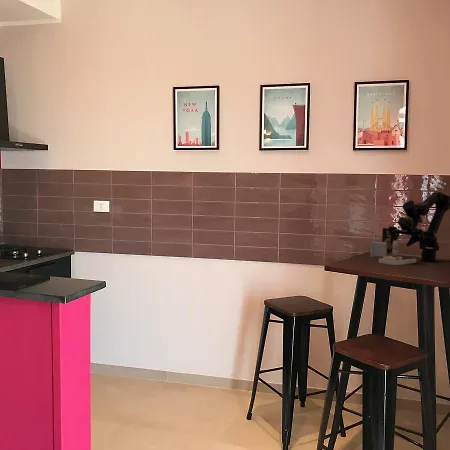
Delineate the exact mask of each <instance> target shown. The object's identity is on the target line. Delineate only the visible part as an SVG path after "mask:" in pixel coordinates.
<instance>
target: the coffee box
mask: <svg viewBox="0 0 450 450" xmlns="http://www.w3.org/2000/svg"><path fill="white" fill-rule="evenodd" d="M388 228H389V227H382V228H381V229H382V230H381V239H380V242H384V243H387V251H386V256H392V249H393V244H392V245H391V244H390V241H391V236H390V234H389V232H388V230H387V229H388ZM397 229H398V230H400V229H399V228H397ZM396 241H399V242H400V235H399V236H398V239H397V240H396Z"/></svg>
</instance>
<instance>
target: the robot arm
mask: <svg viewBox="0 0 450 450" xmlns="http://www.w3.org/2000/svg"><path fill="white" fill-rule="evenodd" d="M433 206H435V210H434V212H433V213H434V214H433V215H432V217H431V218H432V219H431V220H430V223H429V226H428V227H427V230H426V231H424V230H423V229H421V228H417V227H418V225H419V224H422V223H423V220H422V217H423V216H424V217H425V216H427V215H428V214H429V212H430V209H431V208H432V207H433ZM402 209H403V211H404V213H405V215H406V217H399V218H398V220H397V224H398V225H399V228H400V229H399V228H398V227H397V226H392V225H391V226H388V227H387V228H388V229H387V230H388V232H389V234H390V236H391V241H390V244H391V245H392V244H393V241H396V240H397V239H398V236H399V237H400V235H403V236H409V237H410V238H409V240H408V241H407V243H406V247H410V246H412V245H414V244H416V243H418V244H419V249H420V250H422V251H421V255H420V256H421V257H420V261H423V262H429V263H430V262H431V263H433V262H435V263H436V262H438V260H436V259H437V258H436V257H437V255H436V254H437V252H438V251H439V250H440V245H439V242H438V237H437V233H438V230H439V227H440V226H441V223H442V221H443V219H444V216H445V213H446V212H447V211H448V210H450V195H447V194H444V193H443V192H442V191H440V192H439V191H434V192H431V194H430V195H429V196H428V197H427V198H425V199H424V200H423V201H421V202H417V203H415V202H414V200H412V199H411V200H409V201H407V202H405V203H403V204H402ZM398 229H399V230H398Z"/></svg>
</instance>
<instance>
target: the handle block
mask: <svg viewBox="0 0 450 450" xmlns="http://www.w3.org/2000/svg"><path fill="white" fill-rule="evenodd" d="M399 252H400V240H399V241H393V249H392V256H386V257H383V256H382V258H383V259H386V260H393V261H398V260H403V257H402V256H400V257H399Z"/></svg>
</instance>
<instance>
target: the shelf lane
mask: <svg viewBox="0 0 450 450" xmlns="http://www.w3.org/2000/svg"><path fill="white" fill-rule="evenodd" d="M398 257H401V256H399V255H398ZM379 263H380V264H385V265H390V266H391V265H392V266H401V265H409V264H414V263H417V258H408V259H402V260H398V261H393V260H386V259H383V257H382V258H378V264H379Z"/></svg>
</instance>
